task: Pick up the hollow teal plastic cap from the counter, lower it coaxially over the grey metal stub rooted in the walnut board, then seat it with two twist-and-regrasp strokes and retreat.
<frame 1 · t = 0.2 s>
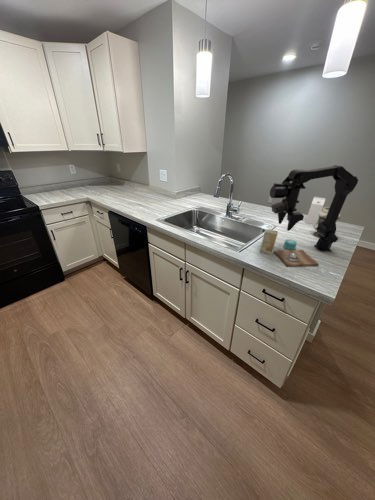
hand: (283, 227, 105), 13 cm above the worktop, fingers open, 9 cm apart
walnut board: (294, 258, 103), on the worktop
cap: (289, 247, 113), on the worktop
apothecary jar: (321, 235, 129), on the worktop
milk carton: (311, 223, 148), on the worktop
skincare box: (266, 251, 109), on the worktop
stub: (291, 260, 101), resting on walnut board
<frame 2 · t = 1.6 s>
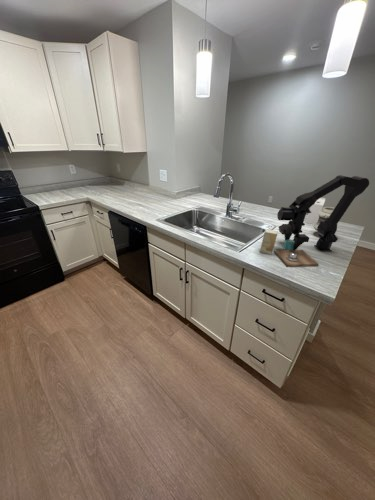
hand: (289, 246, 113), 1 cm above the worktop, fingers open, 8 cm apart
nothing on the worktop moved.
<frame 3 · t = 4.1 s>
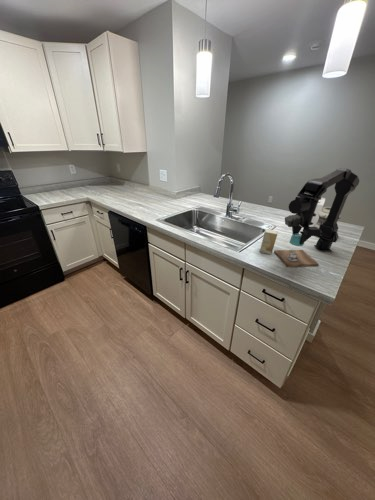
hand: (297, 241, 96), 11 cm above the worktop, fingers closed on cap, 6 cm apart
cap: (296, 243, 96), point 10 cm above the worktop, touching gripper
everything else where it was.
when the fingers open (4 cm above the worktop, at t = 6.2 s): cap stays where it is, resting on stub.
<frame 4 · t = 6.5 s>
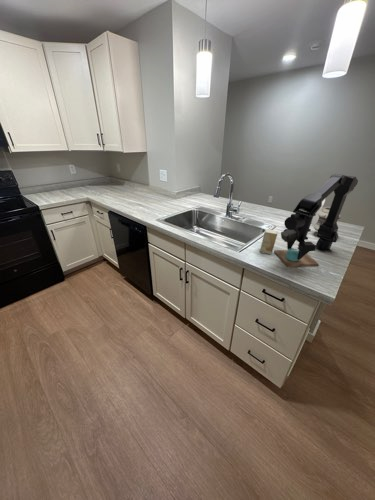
hand: (293, 254, 99), 4 cm above the worktop, fingers open, 9 cm apart
cap: (292, 257, 100), point 2 cm above the worktop, touching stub
everything else where it was.
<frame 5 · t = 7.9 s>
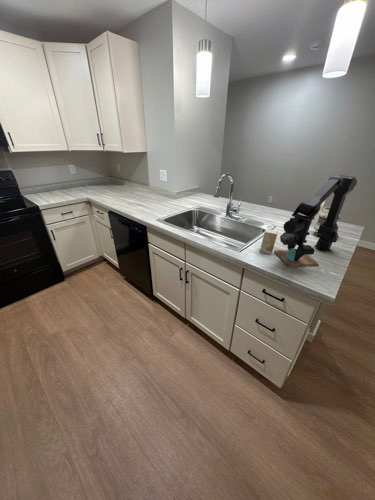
hand: (292, 257, 100), 2 cm above the worktop, fingers closed on cap, 6 cm apart
cap: (292, 257, 100), point 2 cm above the worktop, touching gripper, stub
everything else where it was.
when the fingers open (2 cm above the worktop, at t = 9.2 s): cap stays where it is, resting on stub.
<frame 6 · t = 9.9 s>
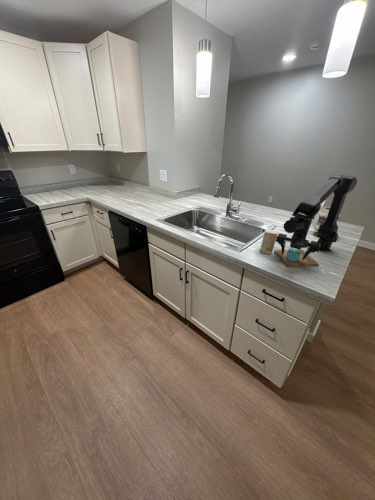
hand: (292, 257, 100), 2 cm above the worktop, fingers open, 9 cm apart
cap: (292, 257, 100), point 2 cm above the worktop, touching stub
everything else where it was.
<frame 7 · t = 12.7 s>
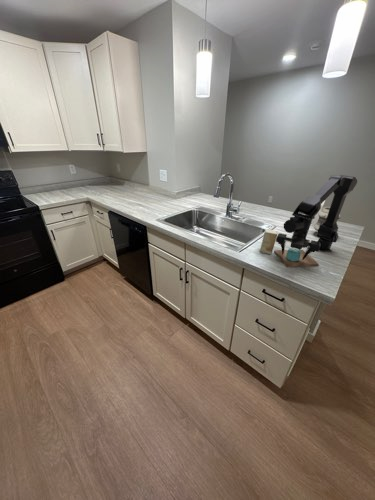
hand: (292, 256, 100), 2 cm above the worktop, fingers open, 9 cm apart
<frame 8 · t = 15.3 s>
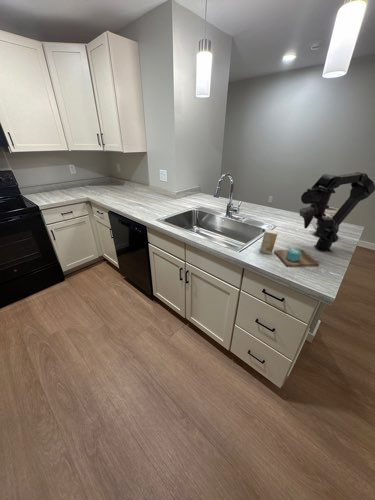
hand: (310, 231, 104), 12 cm above the worktop, fingers open, 9 cm apart
nothing on the worktop moved.
at the end: cap 0.0 cm from the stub (horizontally); cap point 1.8 cm above the worktop; the gripper is holding nothing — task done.
